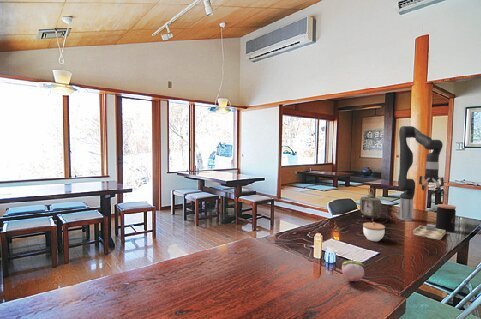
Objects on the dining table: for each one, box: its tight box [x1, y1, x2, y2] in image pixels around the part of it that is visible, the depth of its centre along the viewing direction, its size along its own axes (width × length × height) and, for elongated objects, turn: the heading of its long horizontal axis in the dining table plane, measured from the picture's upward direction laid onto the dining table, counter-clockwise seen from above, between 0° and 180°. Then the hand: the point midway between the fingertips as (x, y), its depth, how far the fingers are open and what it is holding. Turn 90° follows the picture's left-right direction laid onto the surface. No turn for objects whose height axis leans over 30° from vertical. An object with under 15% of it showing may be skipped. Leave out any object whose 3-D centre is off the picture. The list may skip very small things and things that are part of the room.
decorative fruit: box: [341, 259, 365, 282], centre depth 121 cm, size 9×8×10 cm
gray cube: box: [426, 223, 436, 232], centre depth 188 cm, size 4×4×5 cm
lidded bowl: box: [362, 221, 386, 242], centre depth 175 cm, size 13×13×11 cm
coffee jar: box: [435, 203, 457, 233], centre depth 194 cm, size 11×11×18 cm
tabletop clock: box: [359, 188, 382, 222], centre depth 222 cm, size 14×9×25 cm, turn 17°
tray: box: [412, 225, 447, 241], centre depth 185 cm, size 15×18×3 cm
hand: (430, 191), depth 193 cm, fingers open, 8 cm apart
